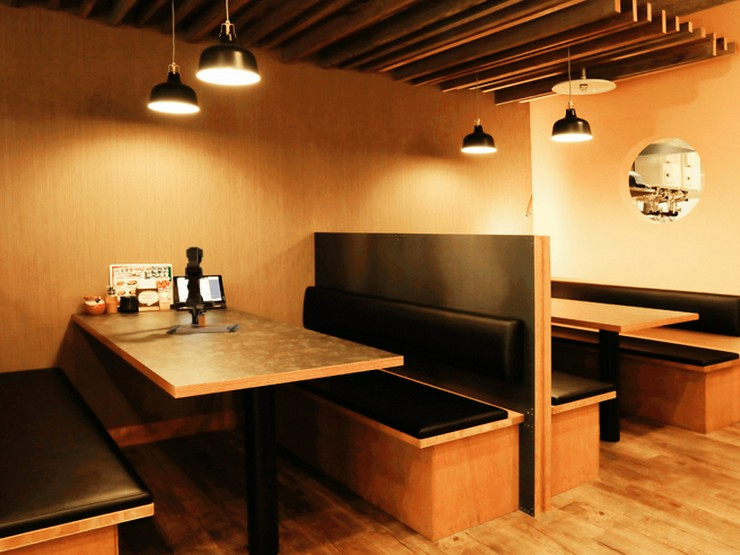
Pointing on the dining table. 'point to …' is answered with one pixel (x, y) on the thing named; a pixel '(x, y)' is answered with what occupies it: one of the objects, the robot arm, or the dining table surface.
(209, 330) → the faceplate
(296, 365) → the dining table surface
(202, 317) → the block
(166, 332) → the cord
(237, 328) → the cord
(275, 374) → the dining table surface
